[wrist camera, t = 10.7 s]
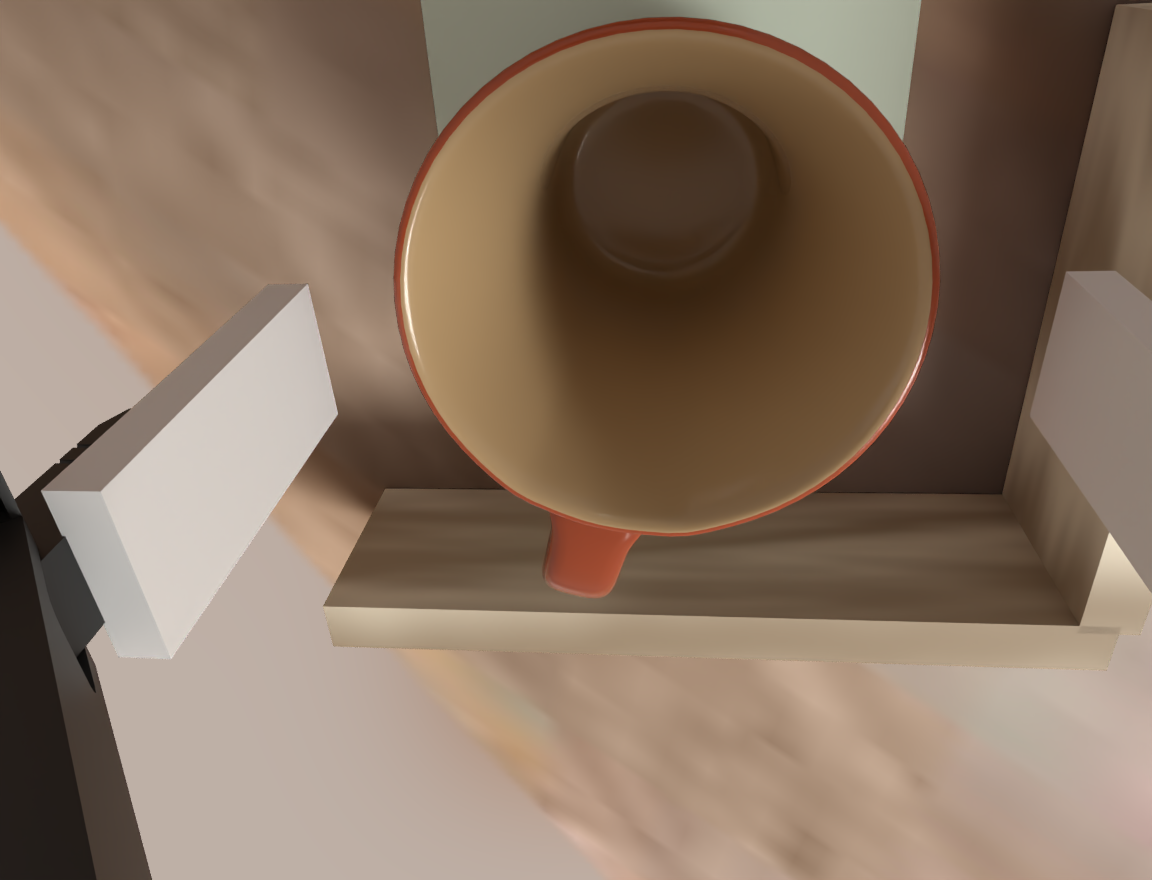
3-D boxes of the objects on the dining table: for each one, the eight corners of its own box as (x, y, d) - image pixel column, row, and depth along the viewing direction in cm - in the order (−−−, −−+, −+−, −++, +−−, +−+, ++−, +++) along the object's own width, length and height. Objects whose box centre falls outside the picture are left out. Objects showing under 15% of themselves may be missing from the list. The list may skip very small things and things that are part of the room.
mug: (534, -57, 20) (427, -54, 12) (889, 34, 21) (1051, 105, 12) (461, 382, 26) (354, 603, 18) (735, 448, 27) (765, 699, 18)
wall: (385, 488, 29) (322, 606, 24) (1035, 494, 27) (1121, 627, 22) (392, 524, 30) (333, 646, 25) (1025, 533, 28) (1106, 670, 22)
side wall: (1116, 4, 20) (1269, 26, 15) (1184, 0, 20) (1363, 22, 15) (1000, 501, 27) (1077, 633, 22) (1050, 501, 27) (1140, 635, 22)
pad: (423, -5, 21) (420, -4, 21) (922, -33, 20) (925, -33, 20) (477, 417, 27) (475, 422, 27) (864, 417, 26) (866, 422, 26)
